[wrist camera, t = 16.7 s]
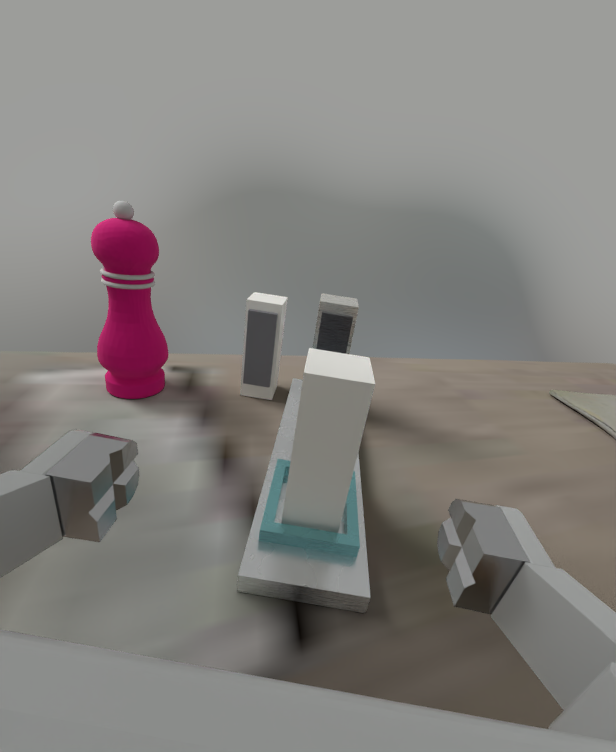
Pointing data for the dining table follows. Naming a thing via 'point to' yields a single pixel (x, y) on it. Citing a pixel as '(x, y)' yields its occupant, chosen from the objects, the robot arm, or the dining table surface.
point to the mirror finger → (262, 345)
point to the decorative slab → (592, 407)
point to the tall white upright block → (327, 438)
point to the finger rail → (300, 544)
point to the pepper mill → (129, 306)
